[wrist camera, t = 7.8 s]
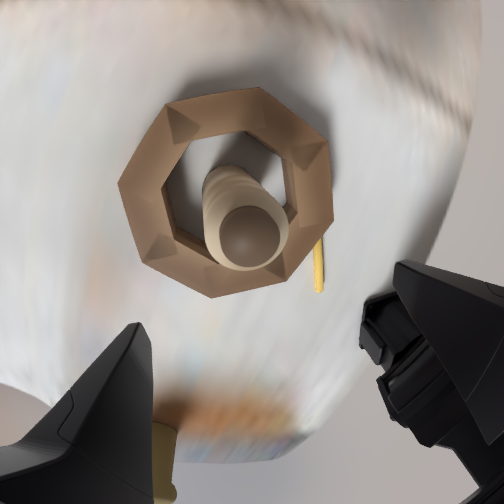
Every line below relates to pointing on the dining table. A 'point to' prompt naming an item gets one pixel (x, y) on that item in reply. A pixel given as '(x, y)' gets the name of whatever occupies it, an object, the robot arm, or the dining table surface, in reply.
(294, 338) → the dining table surface
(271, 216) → the beige wooden peg
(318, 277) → the thin yellow rod
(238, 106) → the brown octagonal ring
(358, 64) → the dining table surface
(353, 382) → the dining table surface
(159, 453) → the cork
